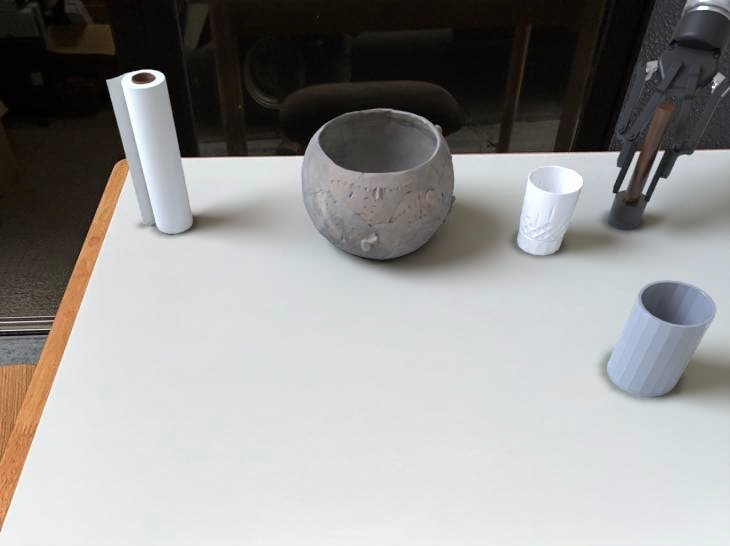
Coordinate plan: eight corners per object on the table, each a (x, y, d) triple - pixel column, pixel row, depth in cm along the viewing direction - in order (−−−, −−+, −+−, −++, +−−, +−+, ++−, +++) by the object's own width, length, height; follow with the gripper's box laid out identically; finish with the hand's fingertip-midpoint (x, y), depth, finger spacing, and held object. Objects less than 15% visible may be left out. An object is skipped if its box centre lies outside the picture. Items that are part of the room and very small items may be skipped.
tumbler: (682, 365, 87) (723, 293, 78) (666, 406, 83) (707, 336, 74) (617, 344, 89) (649, 272, 80) (598, 383, 85) (629, 312, 76)
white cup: (518, 225, 106) (534, 161, 97) (567, 235, 104) (587, 170, 96) (508, 252, 102) (523, 188, 93) (559, 262, 100) (578, 198, 92)
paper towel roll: (200, 221, 108) (173, 73, 90) (176, 239, 105) (143, 90, 88) (168, 208, 110) (135, 62, 93) (144, 225, 108) (105, 78, 90)
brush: (642, 219, 106) (688, 103, 92) (633, 234, 104) (680, 118, 90) (611, 211, 108) (652, 95, 93) (602, 226, 105) (643, 110, 91)
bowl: (278, 255, 102) (269, 155, 90) (340, 185, 114) (340, 87, 101) (414, 293, 97) (425, 192, 84) (466, 214, 108) (482, 115, 95)
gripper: (763, 49, 93) (685, 217, 99) (643, 28, 98) (576, 189, 104) (778, 17, 87) (693, 199, 93) (648, -4, 92) (575, 170, 97)
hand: (631, 194), depth 98 cm, fingers open, 4 cm apart
